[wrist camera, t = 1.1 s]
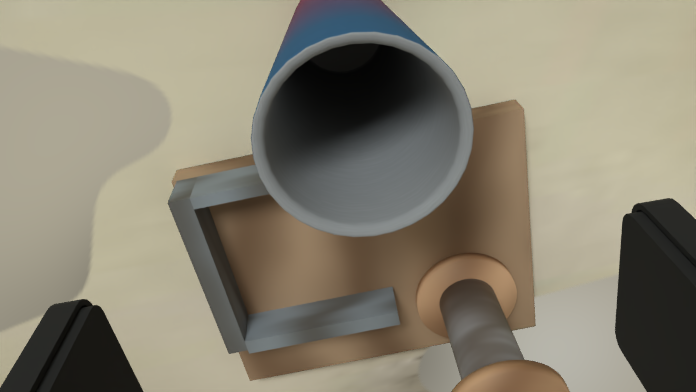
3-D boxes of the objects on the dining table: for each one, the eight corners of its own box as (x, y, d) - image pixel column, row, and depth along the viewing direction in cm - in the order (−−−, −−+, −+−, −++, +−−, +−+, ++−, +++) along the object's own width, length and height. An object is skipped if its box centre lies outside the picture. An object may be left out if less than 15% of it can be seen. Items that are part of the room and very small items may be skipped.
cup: (308, -66, 29) (310, -13, 16) (427, -2, 31) (517, 93, 17) (254, 58, 32) (217, 191, 18) (366, 110, 33) (405, 265, 20)
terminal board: (515, 99, 34) (604, 197, 23) (528, 311, 41) (599, 453, 31) (176, 170, 34) (123, 293, 24) (251, 364, 42) (234, 519, 32)
